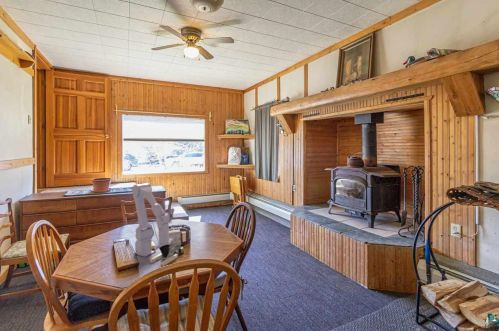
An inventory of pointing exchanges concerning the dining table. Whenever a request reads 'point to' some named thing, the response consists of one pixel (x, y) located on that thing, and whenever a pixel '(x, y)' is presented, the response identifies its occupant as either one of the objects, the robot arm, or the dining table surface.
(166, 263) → the guide rails
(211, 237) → the dining table surface
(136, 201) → the robot arm
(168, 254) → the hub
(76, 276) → the dining table surface
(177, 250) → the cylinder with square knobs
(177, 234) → the ink box
